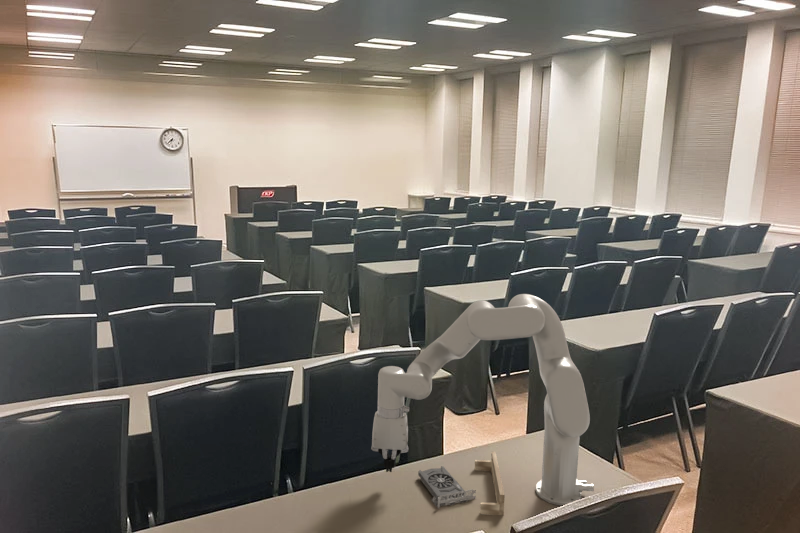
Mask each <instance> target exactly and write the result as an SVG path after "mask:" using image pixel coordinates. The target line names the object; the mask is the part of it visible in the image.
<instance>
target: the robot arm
mask: <svg viewBox="0 0 800 533" xmlns="http://www.w3.org/2000/svg"><path fill="white" fill-rule="evenodd" d="M564 329H565V328H564V327H563V324H562V322H561V319H560V317H559V315H558V314H557V312H556V310H554V309H553V307H552V306H551V305H550V304H549V303H547V301H545V300H543V299H541V298H540V297H538V296H535V295H533V294H529V293H520V294H517V295H515V296H513V297H512V298H511V299H510V301H509V303H508V306H506V307H495V306H494V305H493V304H492V303H491V302H489V301H487V300H483V299H482V300H481V299H479V300H476V301H474V302H472V303H471V304H470V305H469V306H468V307H467V308H466V309H465V310H464V311H463V312H462V313H461V314H460V315H459V316H458V318H456V319H455V320H454V322H453V323H452V324H451V325H450V326H449V327H448V328H447V329H446V330H445V331H444V332H443V333H442V334H441V335H440V336H439V337H438V338H436V339H435V340H434V341H432V342H431V343H430V344H429V345H427V346H426V347H425V348H424V349H423V350H422V351H421V352H420V353H419V354H418V355H417V356H416V358H414V360H413V361H412V362H411V363H410V364H409V366H408V367H407V369H406V370H407V371H406V372H405V371H404V369H403V368H401V367H399V366H397V365H396V366H395V365H388V366H383V367H382V368H380V369H379V371H378V374H377V377H378V379H377V384H378V385H377V411H375V413H374V417H373V424H372V433H371V434H372V435H371V436H372V437H371V438H372V439H371V447H370V450H372V451H373V452H378V453H379V454H380V455H381V456H382V458H383V460H384V461H383V468H385V469H386V470H385V472H386V473H389V472H390V473H392V472H393V469H395V468H396V467H395V464H396V462H395V461H396V458H397V457H398V456H400V455H401V454H404V453H408V452H409V446H408V445H409V444H408V443H409V442H408V441H409V422H408V415H407V413H409V412H410V406H406V405H405V398H408V399H413V400H419V401H420V400H423V399H427V398H428V397H429V396H430V394H431V392H432V388H433V377H434V376H435V375H436V374H437V373H438V372H439V371H440V370H441V369H442V368H443V367H444V366H445V365H447V363H449V362H451V361H453V360H459V359H463V358H464V357H466V356H467V354H468V353H469V352H470V351H471V350H472V349H474V347H475V346H476V345H477V344H478V343H479V342H480V341H481V340H482V341H498V340H499V341H500V340H511V339H512V340H513V339H524V338H531V337H532V340H533V343H534V347H535V351H536V356H537V362H538V368H539V369H538V370H539V375H540V378H541V380H542V382H543V384H544V386H545V389H546V395H545V397H544V401H543V404H544V405H543V410H544V411H543V414H544V416H543V417H544V433H543V434H544V436H543V451H542V452H543V453H542V467H541V469H542V471H541V479H540V480H538V481H537V483H536V484H535V493H536V494H537V496H538V497H539V498H541V499H542V500H543V501H545V502H547V503H549V504H552V505H556V506H562V505H564V504H567V503H569V502H573V501H575V500H578V499H580V500H581V499H582V492H584V491H585V492H594V489H595V487H594V484H593V483H588V482H587V480H586V479H578V464H579V449H580V437H581V436H582V435H583V434H584V433H585V432H586V431H587V430H588V429H589V426H590V421H591V416H590V409H589V404H588V398H587V394H586V390H585V384H584V380H583V377H582V373H580V370H579V369H578V367H577V366H576V364H575V363H574V362H573V360H572V358H571V355H570V351H569V347H568V346H569V345H568V341H567V338H566V334H565V331H564ZM389 450H392V451H391V453H390V454H389Z"/></svg>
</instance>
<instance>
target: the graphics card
mask: <svg viewBox="0 0 800 533" xmlns="http://www.w3.org/2000/svg"><path fill="white" fill-rule="evenodd" d="M417 473H418V477H419V478H420V481H421V483H423V484H422V485H424V486H425V488H426V489H427V490H428V492H429V493H430V494H431V496H432V498H429V499H430V500H431V502H432V503H433V504H434V507H437V509H440V507H443V506H448V505H449V506H455V504H457V503H460V504H465V503H467V502H469V501H471V500H475V499H476V498H477V497H476V495H474V494H476V493H477V492H476V491H477V490H475V489H474V488H473V489H467V490H465V489H464V488H463V487H462V486H461V485H460V484H459V483H458V481H457V480H456V479H455V478H454V477H453V475H452V474H451V473H450V472H449V471H448V470H447V468H446V467H444V466H440V468H439V467H438V468H437V467H436V468H429V469H426V470H421V469H419V470H418V472H417Z"/></svg>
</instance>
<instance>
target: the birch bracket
mask: <svg viewBox="0 0 800 533" xmlns="http://www.w3.org/2000/svg"><path fill="white" fill-rule="evenodd" d="M497 456H498V455H497V453H496V451H491V456H490V457H491V458H490V459H491V460H487V459H486V460H485V459H484V460H483V459H475V460H474V471H483V472H484V471H485V472H491V478H492V483H493V488H494V494H495V500H496V502H480V506H479V509H480V510H479V513H480V515H486V516H487V515H490V516H504V515H505V491H504V485H503V482H502V476H501V471H500V467H499V462H498V461H499V460H498V457H497Z"/></svg>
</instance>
